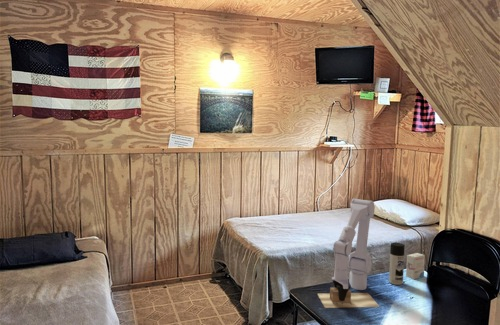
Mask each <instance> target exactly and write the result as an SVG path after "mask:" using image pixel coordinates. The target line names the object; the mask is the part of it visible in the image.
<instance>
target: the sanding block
mask: <svg viewBox="0 0 500 325" xmlns="http://www.w3.org/2000/svg"><path fill="white" fill-rule="evenodd" d="M329 293H330V299H331V301H332V303H351V293H352V290H350V289H349V290H348V292H347V294H346V297H345V300H344V301H340V300H339V294H338V289H337V287H334V286H333V287H331V286H330V288H329Z"/></svg>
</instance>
